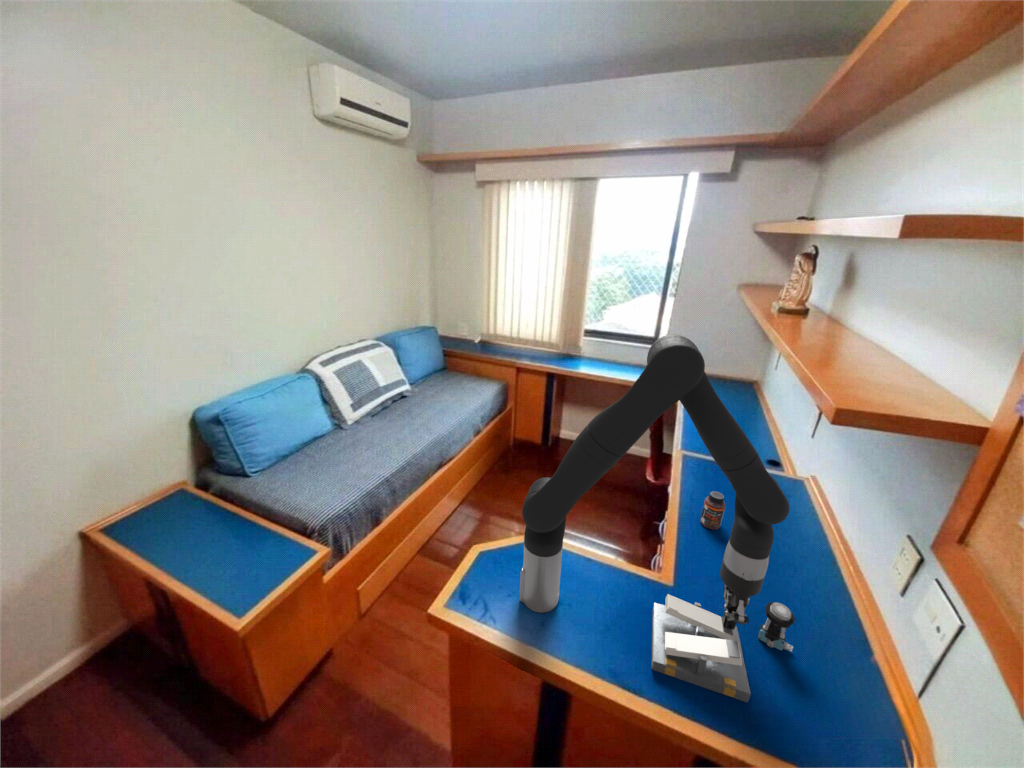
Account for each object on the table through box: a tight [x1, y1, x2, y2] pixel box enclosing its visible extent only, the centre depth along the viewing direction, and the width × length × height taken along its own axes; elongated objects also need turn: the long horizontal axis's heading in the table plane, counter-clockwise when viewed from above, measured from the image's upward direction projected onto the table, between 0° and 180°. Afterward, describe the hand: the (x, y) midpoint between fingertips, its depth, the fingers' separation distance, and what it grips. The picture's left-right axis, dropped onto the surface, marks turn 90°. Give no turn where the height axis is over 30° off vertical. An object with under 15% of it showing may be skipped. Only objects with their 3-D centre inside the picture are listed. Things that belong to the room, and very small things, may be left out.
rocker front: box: [665, 632, 742, 666], centre depth 80 cm, size 14×4×2 cm, turn 69°
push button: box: [757, 601, 796, 653], centre depth 85 cm, size 7×5×10 cm
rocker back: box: [664, 593, 734, 640], centre depth 86 cm, size 14×4×2 cm, turn 70°
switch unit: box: [651, 601, 752, 703], centre depth 84 cm, size 18×15×7 cm
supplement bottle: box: [699, 491, 726, 530], centre depth 122 cm, size 6×6×11 cm
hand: (728, 625), depth 84 cm, fingers closed
